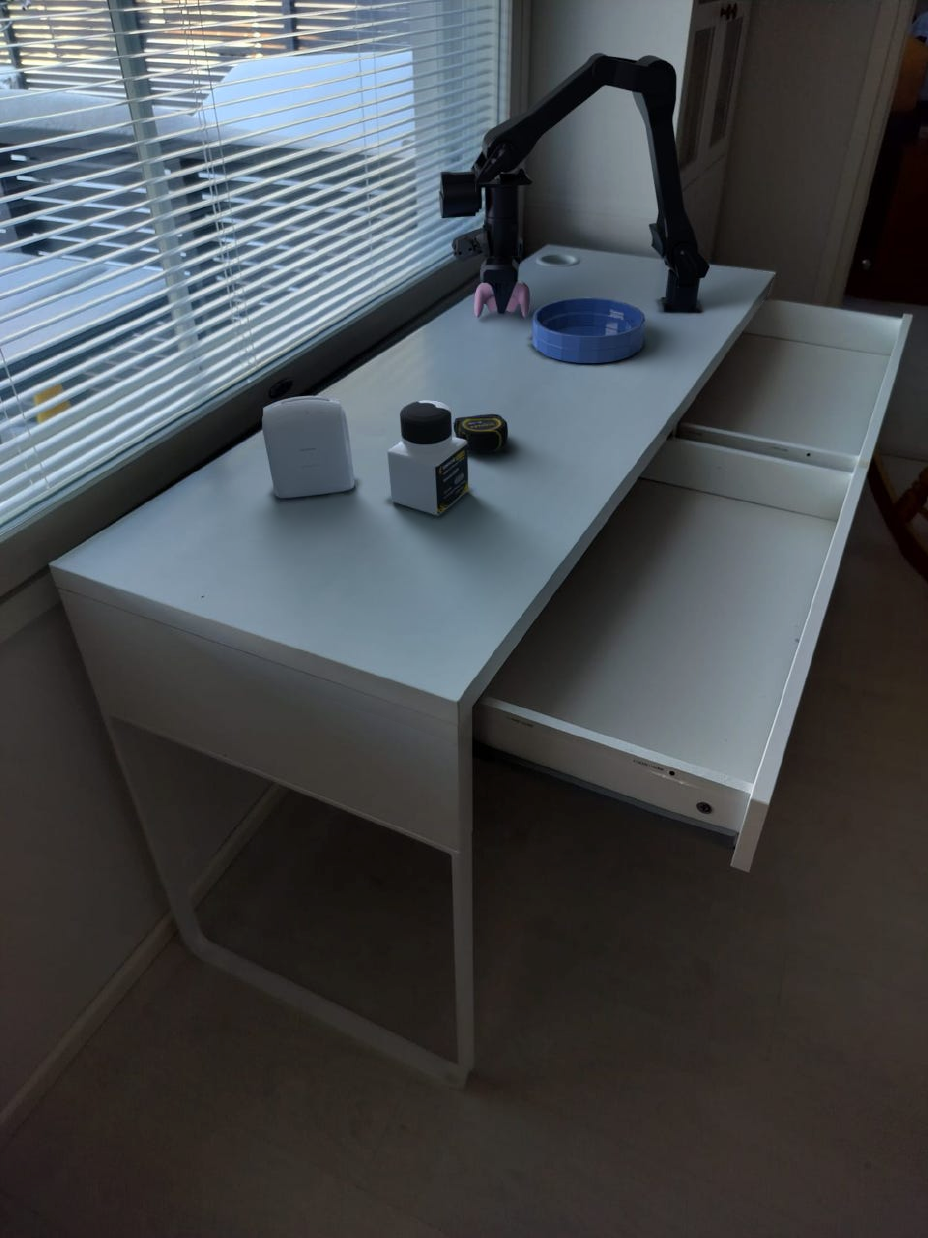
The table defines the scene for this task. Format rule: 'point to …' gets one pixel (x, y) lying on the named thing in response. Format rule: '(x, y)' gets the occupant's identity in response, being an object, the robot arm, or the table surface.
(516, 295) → the video game controller
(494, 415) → the tape measure
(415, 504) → the medicine bottle
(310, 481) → the photo printer
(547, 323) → the bowl
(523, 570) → the table surface
